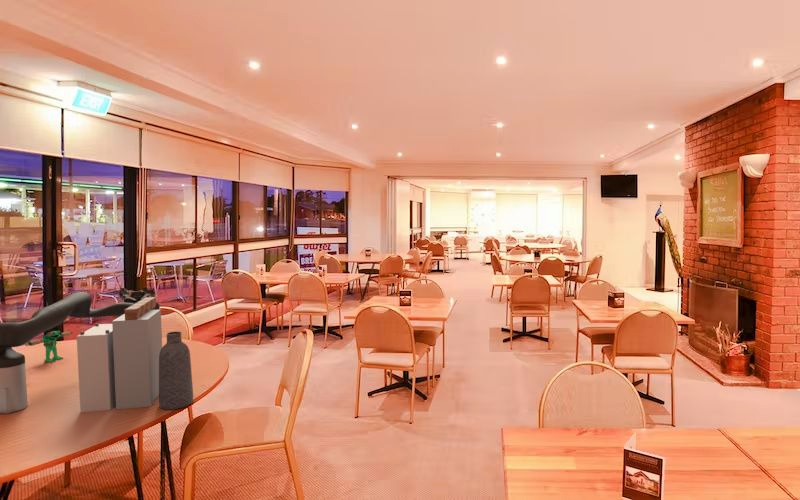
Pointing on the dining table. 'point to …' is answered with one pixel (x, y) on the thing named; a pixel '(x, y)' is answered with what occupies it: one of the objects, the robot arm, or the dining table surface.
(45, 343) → the toy
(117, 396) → the stand
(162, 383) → the vase
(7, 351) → the robot arm
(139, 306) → the batten
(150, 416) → the dining table surface
